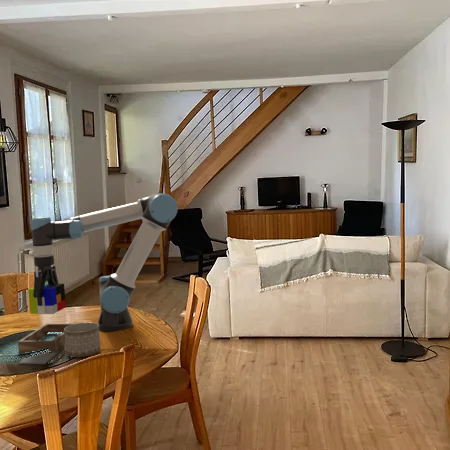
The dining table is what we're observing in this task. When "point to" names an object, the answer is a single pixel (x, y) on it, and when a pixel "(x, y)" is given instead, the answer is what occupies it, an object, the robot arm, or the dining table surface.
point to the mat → (38, 359)
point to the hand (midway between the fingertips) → (48, 309)
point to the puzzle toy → (49, 299)
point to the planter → (82, 339)
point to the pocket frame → (32, 339)
